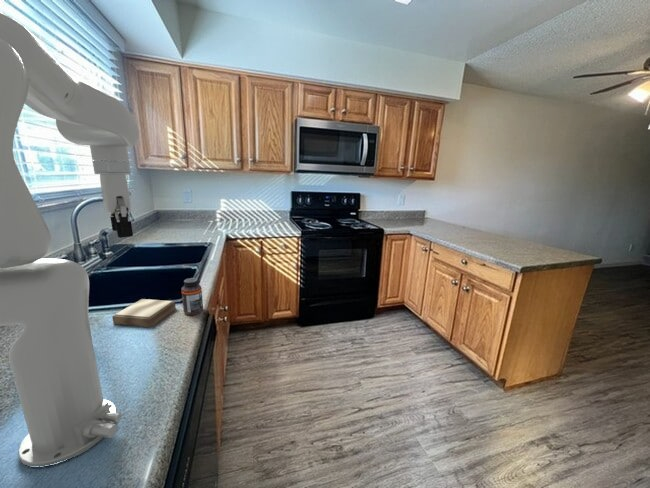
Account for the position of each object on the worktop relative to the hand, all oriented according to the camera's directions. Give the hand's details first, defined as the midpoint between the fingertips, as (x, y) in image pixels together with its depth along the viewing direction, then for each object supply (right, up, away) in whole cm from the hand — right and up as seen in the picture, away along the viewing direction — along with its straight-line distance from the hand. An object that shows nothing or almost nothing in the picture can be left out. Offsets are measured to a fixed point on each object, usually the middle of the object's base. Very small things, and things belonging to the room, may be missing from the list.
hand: (122, 233), depth 75 cm
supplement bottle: (+11, -26, +17) cm, 33 cm away
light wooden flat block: (-2, -26, +13) cm, 29 cm away
